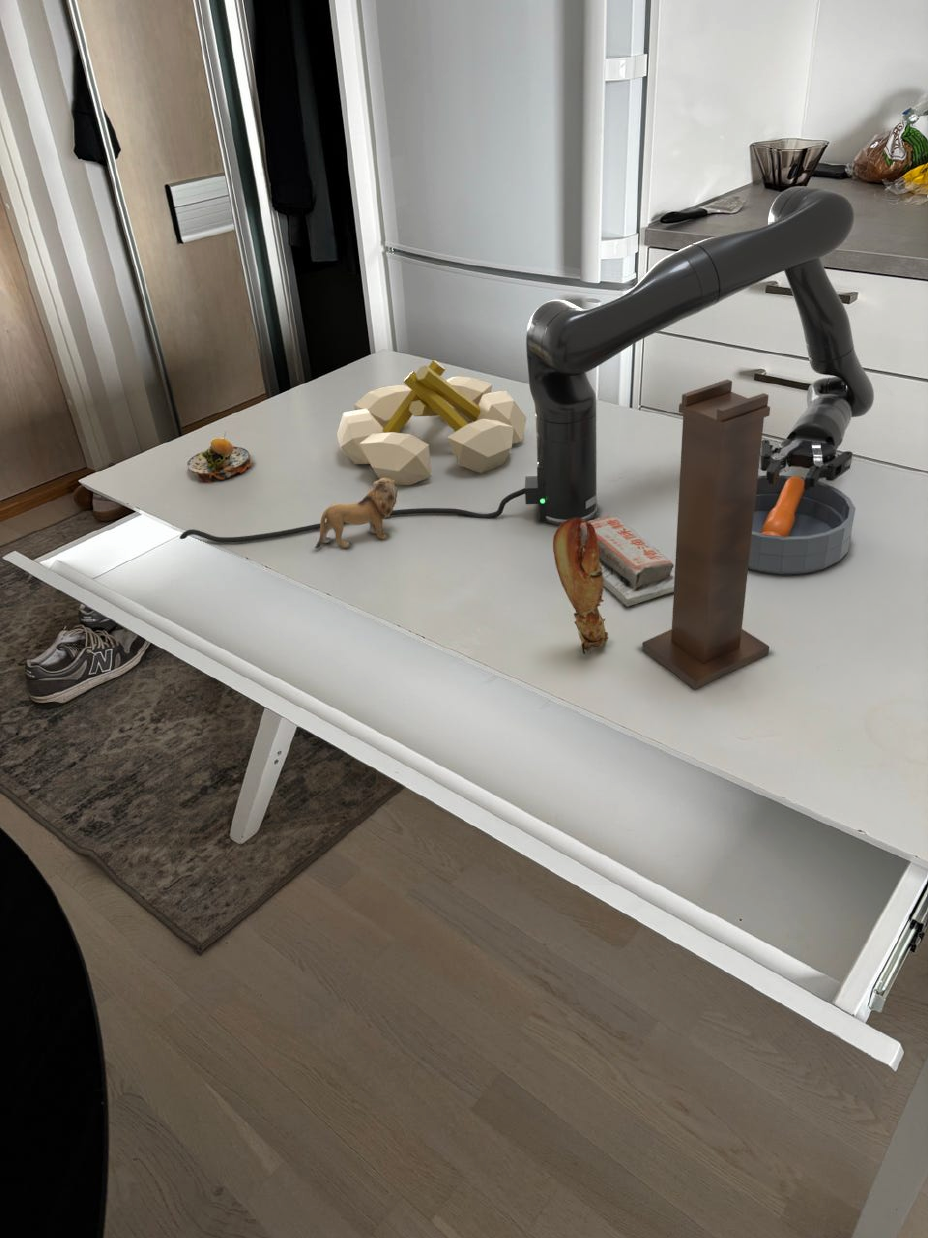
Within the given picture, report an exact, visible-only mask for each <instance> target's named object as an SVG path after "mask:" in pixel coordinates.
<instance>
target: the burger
mask: <svg viewBox="0 0 928 1238" xmlns="http://www.w3.org/2000/svg"><path fill="white" fill-rule="evenodd" d="M226 433H227V430H225V433H224V434H226ZM225 437H226V435H224V437H215V438H212V440H211V441H210V446H208V448H207V449H206V450H204V451H201V452H200V453H197V454H195V455H193V456H192V457H191V458H190V459H189V460H188V461H187V468H188V470H189V472H190V473H192V474H196V475H198V478H199V480H200V482H202V483H204V482H206V483H211V482H212V479H211V478H212V476H214V477H215V478H216V479H218V480H226V479H230V477H231V476H232V475H236V474H237V473H240V474H243V472H245V471H246V470H247V469H249V468H251V466H252V463H253V461H252V458H251V456H250V452H249V450H247V449H246V448H243V447H241V446H240V447H239V446H233V444H232V443H231V441H230V440H228V439H227V438H225Z"/></svg>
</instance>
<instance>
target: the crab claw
mask: <svg viewBox="0 0 928 1238" xmlns="http://www.w3.org/2000/svg"><path fill="white" fill-rule="evenodd" d="M583 521H585V524H586V527H587V538H586V540H585V543H586V549H584V548H583V547H584V543H583V542H582V541H581V535H582V529H581V528H580V526H581V523H582V522H583ZM552 552H553V559H554V564H555V568H556V571H557V575H558V577H559V580H560V583H561V586H562V589H563V590H564V592H565V593H566V596H567V598H568V600H569V602H570V604H571V606H572V607H573V609H574V610H575V612H574V613H573V616H574V618H575V621H573V622H574V624H575V626H576V629H577V631H578V637H579V640H580V644H581V651H582V654H583V655H586V651H589V650H590V649H593V648H594V649H595V648H597V649H598V648H600V647H601V648H602V646H604V645H606V644H607V642H608V640H609V632H607V629H606V626H605V621H606V618H603V616H602V614H601V612H600V610H599V607H600V606H601V603H602V602H604V599H603V592H604V585H603V573H602V567H601V566H600V563H599V550H598V540H597V535H596V532H595V529H594V527H593V526H592V524H591V523H589V522H588V521H586V520H584V519H582V518H579V517H573V518H570V519H568V520H566V521H564V522H563V523H562V524H561V525H558V527H557V528H556V530H555V532H554V535H553V539H552Z"/></svg>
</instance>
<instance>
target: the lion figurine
mask: <svg viewBox="0 0 928 1238" xmlns="http://www.w3.org/2000/svg"><path fill="white" fill-rule="evenodd" d="M397 498H398V489H397V487H396V484H395V481H394V480H391V479H387V478H381V479H379V478H378V480H375V481H374V482H373V483H372V488H371V489H370V490H369V491H368V492H367V494H366V495H365V496H364V497H363V498H362V500H360V501H358V502H353V503H334V504H331V505H329V506H328V507H327V508H325V510H324V511H323V512H322V515H321V517H320V522H319V523H320V529H319V539H318V541H317V543H316V545H315V547H314V549H319V548H321V546H322V543H326V544H327V543H330V542H331V540H332V539H331V537H328V536H327V535H328V534H329V532H330V531H331V530H332V529H333V531H334V533H335V538H334V539H335V542H337V543H338V544H339V545H340V546H341V547H342V548H343V549H348V548H350V546H351V545H350V543H349V542H348V541H344V540H343V531H344V528H345V526H344V522H345V524H348V525H351V526H362V525H365V524H369V530H370V532H371V533H372V534H376V536H377V537H378V539H379V540H386V539H387V534H386V533H383V527H384V526H383V525H384V524H383V523H384V522H383V520H384V519H386V518H388V517H391V516H390V514H391V513H392V510H394V508H395V506H396V504H397ZM325 522H326V524H325ZM324 524H325V526H324Z"/></svg>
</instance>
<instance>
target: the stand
mask: <svg viewBox="0 0 928 1238" xmlns="http://www.w3.org/2000/svg"><path fill="white" fill-rule="evenodd" d="M732 388H733V381H732V380H730V379H725V380H722V381H718V382H715V383H712V384H709V385H707V386H704V387H700V388H697V389H694V390H690V391H688V392H685V393H682V395H681V402H680V403H679V404H678V413H680V414H682V430H681V431H682V433H681V448H680V449H681V450H680V466H679V468H680V469H679V486H678V503H677V505H678V506H677V524H676V545H675V546H676V547H675V562H674V571H675V578H674V591H673V597H672V598H673V599H672V617H671V629H669V630H667V631H664V632H663V633H660V634H658V635H656V636H654V637H651V638H649V639H647V640H645V641H642V642H641V649H642V651H643V652H644V653H645V654H647V655H648V656H650V657H651V658H652V659H654V660H655V661H656V662H657V663H659V664H661V665H662V666H663V667H664V668H665V669H667V670H668V671H670V672H671V673H673V674H674V675H675V676H676V677H678V678H679V679H681V680H682V681H683V682H685V684H687V685H689V686H690V687H691V688H692V689H694V690H697V689H700V688H701V687H704V686H706V685H707V684H709V683H711V682H713V681H716V680H717V679H718V680H719V678H722V677H724V676H726V675H729V674H730V673H732V672H734V671H736V670H739V669H740V668H742V667H745V666H746V665H748V664H751V663H753V662H755V661H756V660H759V659H761V658H763V657H765V656H767V655H769V652H770V645H769V644H767V643H765V642H764V641H761V640H760V639H758V638H757V637H756V636H754V635H752V634H751V633H750V632H748V631H747V630H745V629H743V620H744V612H745V611H744V610H745V602H746V595H747V594H746V593H747V584H748V583H747V582H748V574H749V569H748V565H749V556H750V546H751V537H752V527H753V518H754V508H755V499H756V489H757V480H758V476H759V469H760V452H761V442H762V440H763V431H764V422H765V418H766V417H769V416H770V414H771V406H770V405H769V394H767V393H760V394H756V395H754V396H751V397H746V396H743V395H741V394H738V393H736V392H734V391H732ZM768 405H769V406H768Z"/></svg>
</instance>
